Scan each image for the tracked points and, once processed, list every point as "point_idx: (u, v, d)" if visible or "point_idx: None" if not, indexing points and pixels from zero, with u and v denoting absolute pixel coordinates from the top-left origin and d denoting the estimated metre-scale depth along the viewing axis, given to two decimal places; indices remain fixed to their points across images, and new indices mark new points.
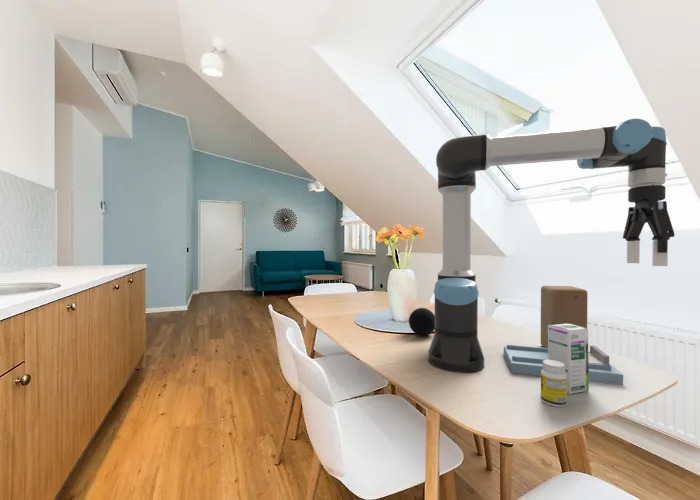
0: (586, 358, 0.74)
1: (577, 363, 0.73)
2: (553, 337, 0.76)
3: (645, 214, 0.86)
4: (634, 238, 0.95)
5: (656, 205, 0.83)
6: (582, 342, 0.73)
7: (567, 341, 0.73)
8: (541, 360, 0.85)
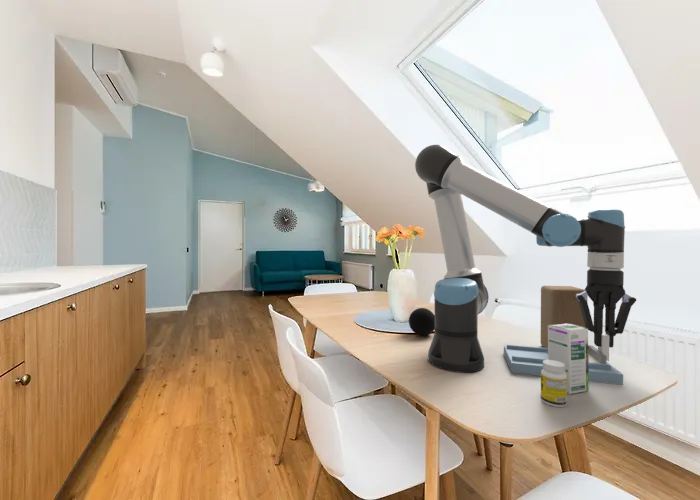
0: (586, 358, 0.74)
1: (577, 363, 0.73)
2: (553, 337, 0.76)
3: None
4: None
5: (577, 298, 0.88)
6: (582, 342, 0.73)
7: (567, 341, 0.73)
8: (541, 360, 0.85)
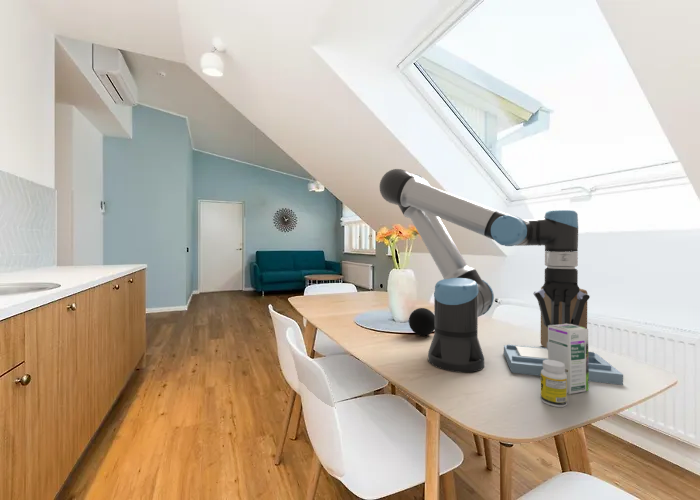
0: (586, 358, 0.74)
1: (577, 363, 0.73)
2: (553, 337, 0.76)
3: None
4: None
5: (535, 296, 0.91)
6: (582, 342, 0.73)
7: (567, 341, 0.73)
8: (541, 360, 0.85)
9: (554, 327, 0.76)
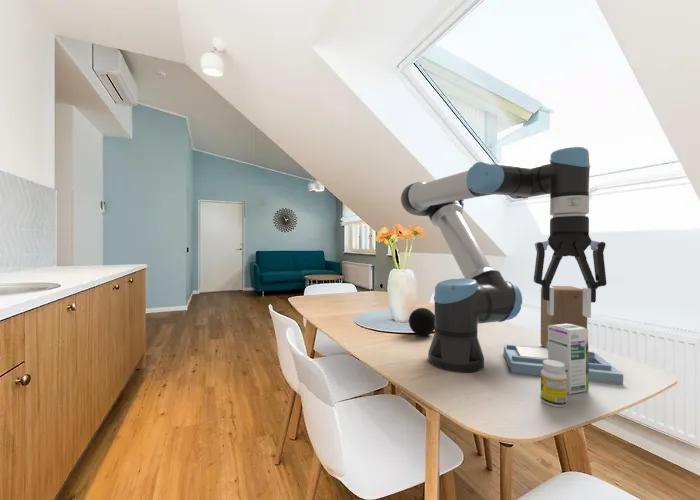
0: (586, 358, 0.74)
1: (577, 363, 0.73)
2: (553, 337, 0.76)
3: (554, 252, 0.78)
4: None
5: (536, 247, 0.78)
6: (582, 342, 0.73)
7: (567, 341, 0.73)
8: (541, 360, 0.85)
9: (554, 327, 0.76)
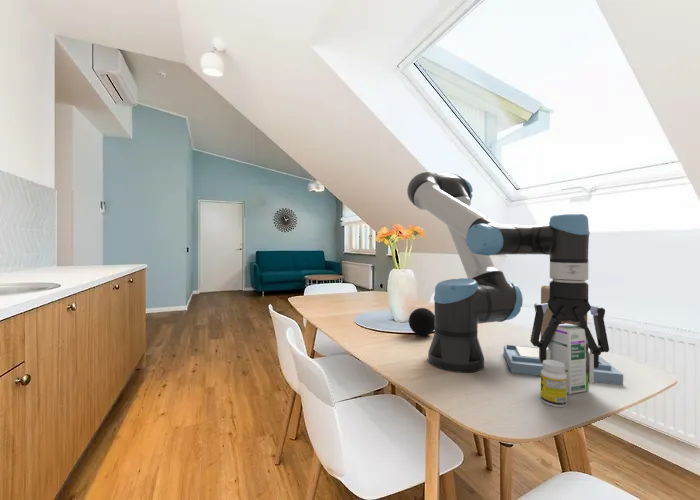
0: (586, 358, 0.74)
1: (577, 363, 0.73)
2: (553, 337, 0.76)
3: (553, 314, 0.78)
4: None
5: (535, 308, 0.79)
6: (582, 342, 0.73)
7: (567, 341, 0.73)
8: None
9: None
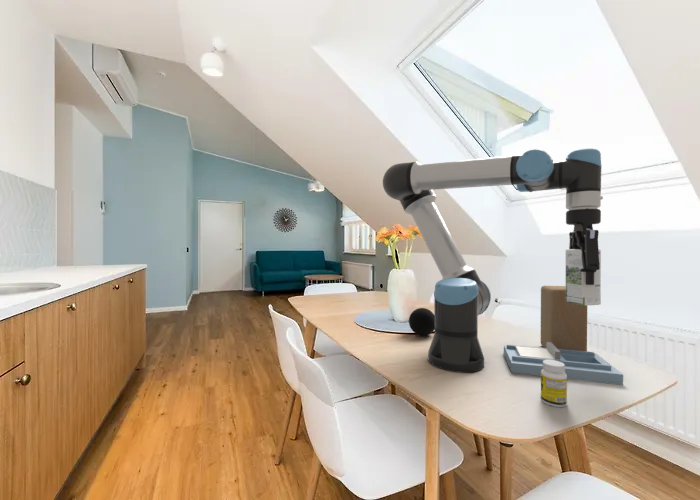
0: None
1: None
2: None
3: (579, 240, 0.84)
4: None
5: (588, 235, 0.80)
6: None
7: (600, 259, 0.84)
8: (541, 360, 0.85)
9: None
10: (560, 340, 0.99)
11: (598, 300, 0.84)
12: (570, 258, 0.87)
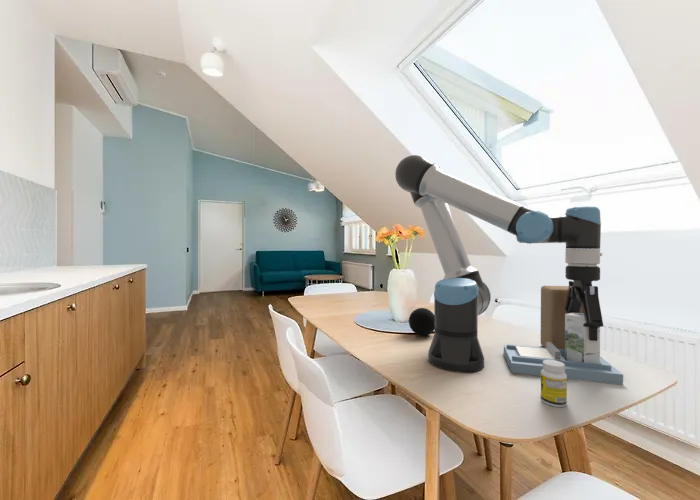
0: None
1: None
2: None
3: (579, 296, 0.84)
4: (575, 312, 0.93)
5: (588, 290, 0.80)
6: None
7: None
8: (541, 360, 0.85)
9: None
10: (560, 340, 0.99)
11: None
12: (569, 324, 0.87)
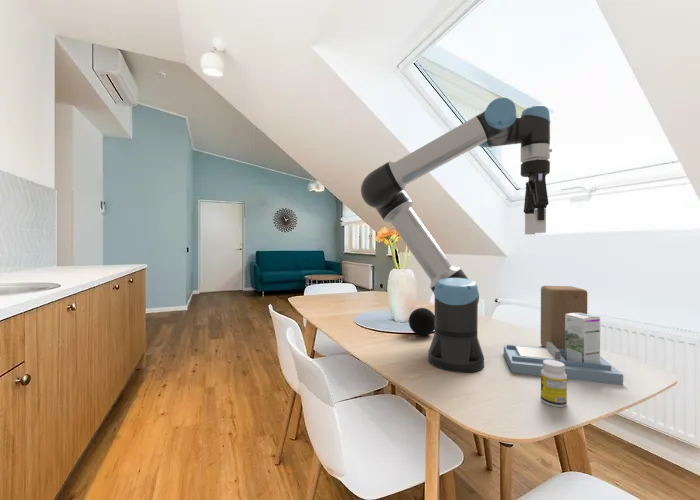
0: None
1: None
2: (588, 328, 0.83)
3: (531, 186, 0.94)
4: (531, 211, 1.03)
5: (536, 177, 0.90)
6: None
7: (599, 326, 0.84)
8: (541, 360, 0.85)
9: (589, 318, 0.84)
10: (560, 340, 0.99)
11: None
12: (569, 324, 0.87)
